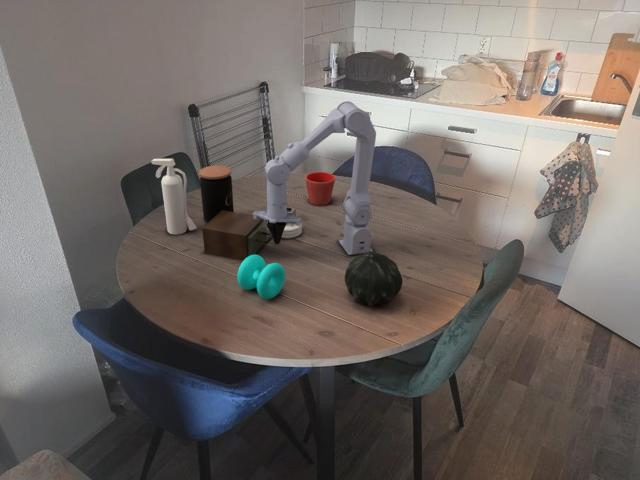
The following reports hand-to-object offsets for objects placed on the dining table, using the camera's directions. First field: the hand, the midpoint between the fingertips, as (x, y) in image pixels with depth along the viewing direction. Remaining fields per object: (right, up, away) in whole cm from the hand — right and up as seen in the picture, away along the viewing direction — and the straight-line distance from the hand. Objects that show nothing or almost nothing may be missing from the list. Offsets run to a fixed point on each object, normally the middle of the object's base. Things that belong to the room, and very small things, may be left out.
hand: (277, 242), depth 151 cm
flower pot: (+15, +18, +36) cm, 43 cm away
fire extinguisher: (-33, +5, +16) cm, 37 cm away
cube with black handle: (+3, +7, +13) cm, 15 cm away
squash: (+25, -16, -18) cm, 35 cm away
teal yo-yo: (-4, -15, -15) cm, 22 cm away
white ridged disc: (+3, +4, +15) cm, 16 cm away
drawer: (-10, -1, +5) cm, 11 cm away
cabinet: (-14, -1, +7) cm, 15 cm away
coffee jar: (-21, +9, +23) cm, 33 cm away
